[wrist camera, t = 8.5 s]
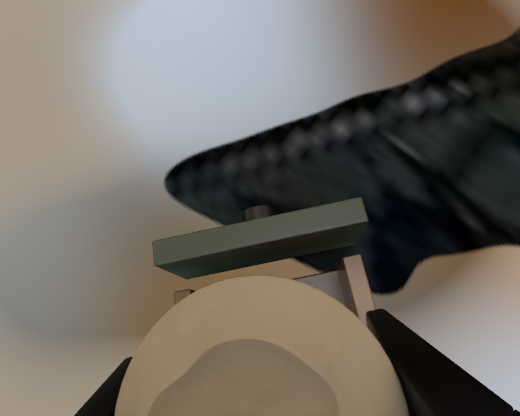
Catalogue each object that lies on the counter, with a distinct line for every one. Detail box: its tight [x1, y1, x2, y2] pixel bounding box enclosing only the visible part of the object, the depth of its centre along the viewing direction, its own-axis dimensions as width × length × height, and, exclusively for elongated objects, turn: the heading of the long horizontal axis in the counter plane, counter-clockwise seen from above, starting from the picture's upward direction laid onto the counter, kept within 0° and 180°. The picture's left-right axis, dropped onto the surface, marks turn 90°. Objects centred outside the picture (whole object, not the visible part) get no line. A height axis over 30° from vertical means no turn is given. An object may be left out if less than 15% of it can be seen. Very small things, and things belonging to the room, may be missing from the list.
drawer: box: [152, 197, 376, 326], centre depth 18 cm, size 14×10×5 cm
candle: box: [114, 275, 409, 416], centre depth 10 cm, size 6×6×10 cm
